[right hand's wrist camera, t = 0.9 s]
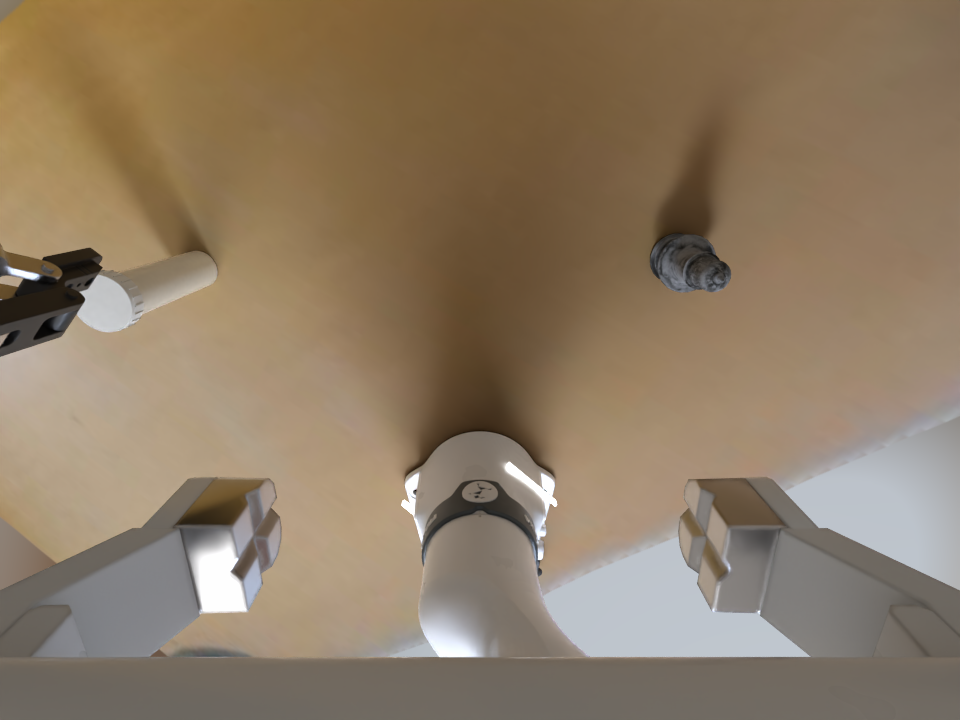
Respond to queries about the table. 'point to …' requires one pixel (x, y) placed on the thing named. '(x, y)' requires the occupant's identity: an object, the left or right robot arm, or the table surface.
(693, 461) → the table surface
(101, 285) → the lid
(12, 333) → the left robot arm
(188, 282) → the bottle
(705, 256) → the grey chess piece
